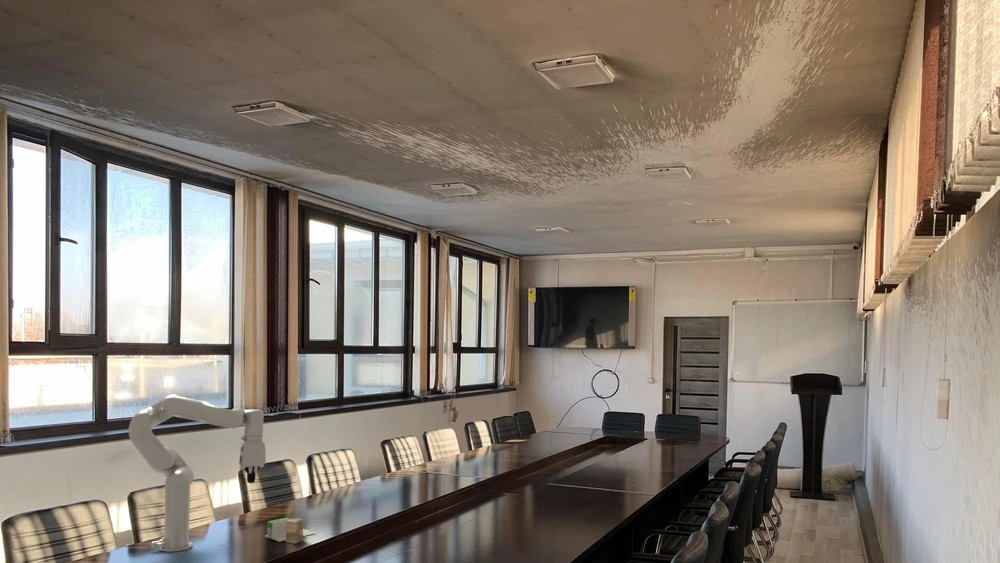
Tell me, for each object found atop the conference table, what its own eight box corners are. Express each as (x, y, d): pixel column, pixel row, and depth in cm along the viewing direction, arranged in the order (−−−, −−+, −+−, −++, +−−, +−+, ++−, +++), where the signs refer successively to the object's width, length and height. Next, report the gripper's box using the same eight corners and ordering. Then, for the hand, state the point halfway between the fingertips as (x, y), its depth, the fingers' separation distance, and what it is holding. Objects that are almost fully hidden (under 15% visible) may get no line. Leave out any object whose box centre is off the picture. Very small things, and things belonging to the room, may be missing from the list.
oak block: (294, 543, 316) (295, 521, 317) (285, 542, 318) (286, 520, 319) (303, 540, 320) (303, 519, 321) (294, 539, 323) (294, 518, 323)
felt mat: (279, 541, 319) (279, 540, 319) (265, 536, 327) (265, 535, 327) (315, 534, 331) (316, 533, 331) (301, 529, 340) (301, 528, 340)
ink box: (266, 537, 323) (292, 531, 334) (271, 539, 321) (297, 533, 331) (266, 521, 324) (293, 515, 334) (272, 523, 321) (298, 517, 332)
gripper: (240, 441, 311) (238, 486, 310) (273, 438, 322) (271, 481, 320) (232, 439, 316) (230, 483, 315) (265, 436, 327) (262, 479, 325)
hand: (250, 482), depth 317 cm, fingers closed
